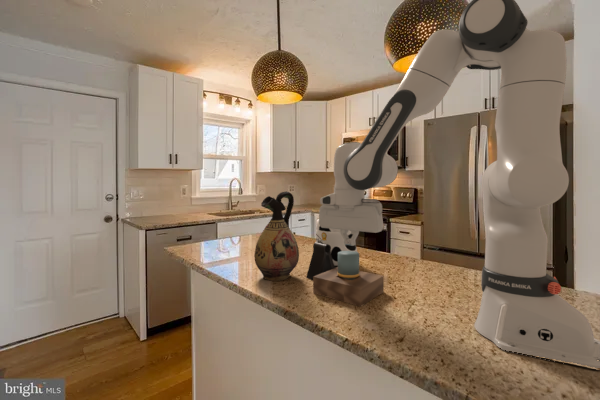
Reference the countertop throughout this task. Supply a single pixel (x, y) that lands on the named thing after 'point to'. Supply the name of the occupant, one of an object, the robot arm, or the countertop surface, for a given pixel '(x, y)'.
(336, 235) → the milk container
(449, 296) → the countertop surface
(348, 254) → the leg
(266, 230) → the ceramic jug
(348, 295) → the board
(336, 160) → the robot arm
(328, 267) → the phone stand
